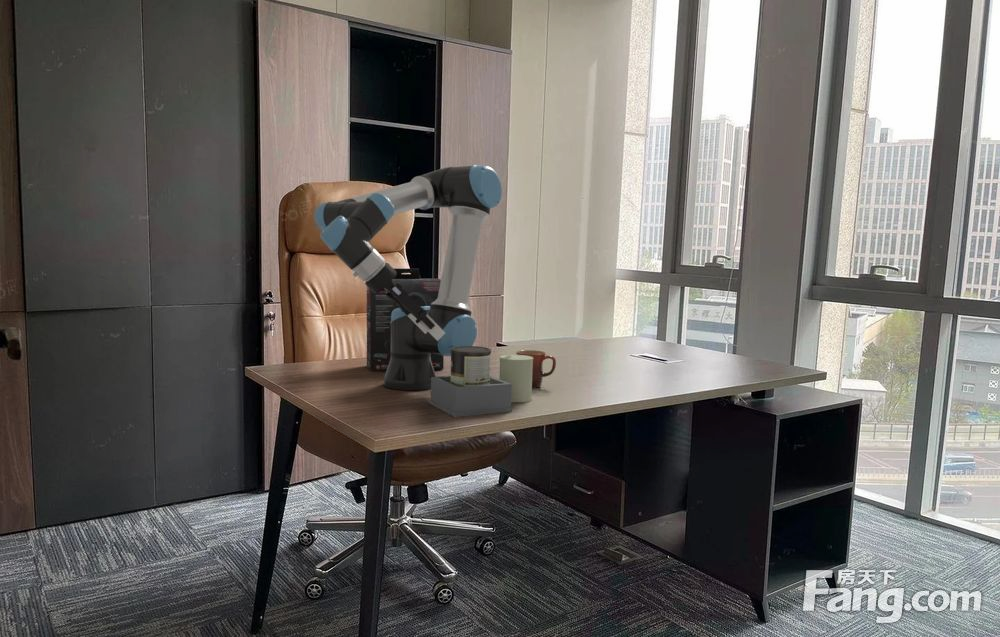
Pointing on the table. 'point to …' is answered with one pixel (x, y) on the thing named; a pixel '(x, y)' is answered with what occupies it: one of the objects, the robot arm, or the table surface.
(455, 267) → the robot arm
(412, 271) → the headset box
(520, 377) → the can
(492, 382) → the box
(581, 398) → the table surface
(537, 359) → the mug
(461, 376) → the coffee can
